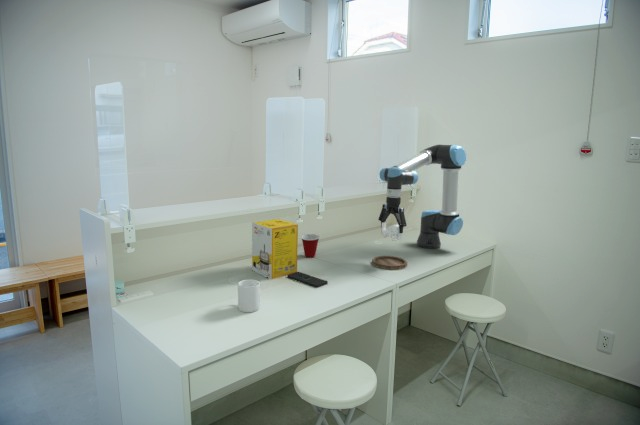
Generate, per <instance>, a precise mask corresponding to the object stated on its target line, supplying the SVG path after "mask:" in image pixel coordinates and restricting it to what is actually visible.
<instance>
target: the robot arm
mask: <svg viewBox="0 0 640 425" xmlns="http://www.w3.org/2000/svg"><path fill="white" fill-rule="evenodd" d="M465 162H467V153H466V150H465V149H464V147H462V146H461V145H456V144H454V145H453V144H435V145H432V146H429V147H426V148H424V149H423V150H420V151H419V153H418V154H417V155H413V156H412V157H410V158H407V159H406V160H403V161H402V162H399V163H398V164H395V165H393V166H391V167H389V168H388V167H383V168H382V169H381V170H380V171H379V173H378V175H379V179H380V180H381V181H383V182H385V183H387V184H386V186H387V187H386V200H385V203H383V204H382V206H381V211H380V213H379V217H378V221H380V228H381V230H380V231H381V232H380V233H381V235H382V231H383V230H385V229H387V219H388V217H389V216H390V215H393V216H394V218H395V219H396V222H397V225H399V227H398V232H397V239H396V240H398V239H399V240H401V239H402V238H403V232H404V228H405V227H407V220H406V217H405V208H404V207H400V205H401V201H402V199H401V198H402V197H401V196H402V187H403V185H404V186H405V185H415V184H416V183H417V182H418V180H419V175H418V172H417V171H416V170H418V169H420V168H422V167H424V166H429V165H435V164H437V165H440V169H441V170H442V172H443V173H442V175H443V176H442V199H441V200H442V201H441V202H442V205H441V210H440V209H427V210H423V211H422V212H421V216H420V228H419V229H420V232H419V235H418V237H417V240H416V246H417V247H420V248H424V249H440V248H441V246H442V243H441V238H440V234H445V235H447V236H456V235H458V234H459V233H460V232H461V230H462V229H463V226H464V220H463V218H462V217H461V216H460V212H459V211H458V210H457V209H458V192H459V191H458V189H459V171H460V170H461V169H462V166H464V165H465Z"/></svg>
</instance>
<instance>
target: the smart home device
mask: <svg viewBox="0 0 640 425" xmlns="http://www.w3.org/2000/svg"><path fill="white" fill-rule="evenodd" d="M287 277H288V279H290V280H293V281H295V280H296V282H299V283H302V284H304V285H306V286H310V287H313V288H314V289H317V288H321V287H324V286H326V285H328V284H329V281H328V280H324V279H322V278H319V277H316V276H314V275H310V274H307V273H303V272H300V271H297V272H295V273H292V274H289V275H286V278H287Z"/></svg>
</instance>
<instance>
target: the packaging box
mask: <svg viewBox="0 0 640 425" xmlns="http://www.w3.org/2000/svg"><path fill="white" fill-rule="evenodd" d="M298 227H299V225H298V223H294V222H292V221H287V220H285V219H284V220H283V219H280V218H277V219H270V220H269V219H268V220H262V221H255V222H254V221H253V222H251V243H252V244H251V250H252V253H251V256H252V257H251V259H252V260H251V261H252V262H251V270H253V272H254V271H255V272H254V273H257V274H259V275H261V276H262V277H266V278H267V277H268V278H267V279H269V278H270V280H273V279H276V278H280V277H284V276H287V275H289V274H292V273H295V272H298V245H299V244H298V239H299V238H298V234H299V232H298V230H299V228H298Z"/></svg>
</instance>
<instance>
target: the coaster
mask: <svg viewBox="0 0 640 425" xmlns="http://www.w3.org/2000/svg"><path fill="white" fill-rule="evenodd" d="M371 263H372V265H373V266H374V267H377V268H379V269H381V270H382V269H384V270H389V271H390V270H391V271H393V270H396V271H399V270H403V269H406V268H407V267H408V261H407V260H406V259H404V258H403V257H399V256H394V255H379V256H374V257H373V258H372V260H371Z"/></svg>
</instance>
